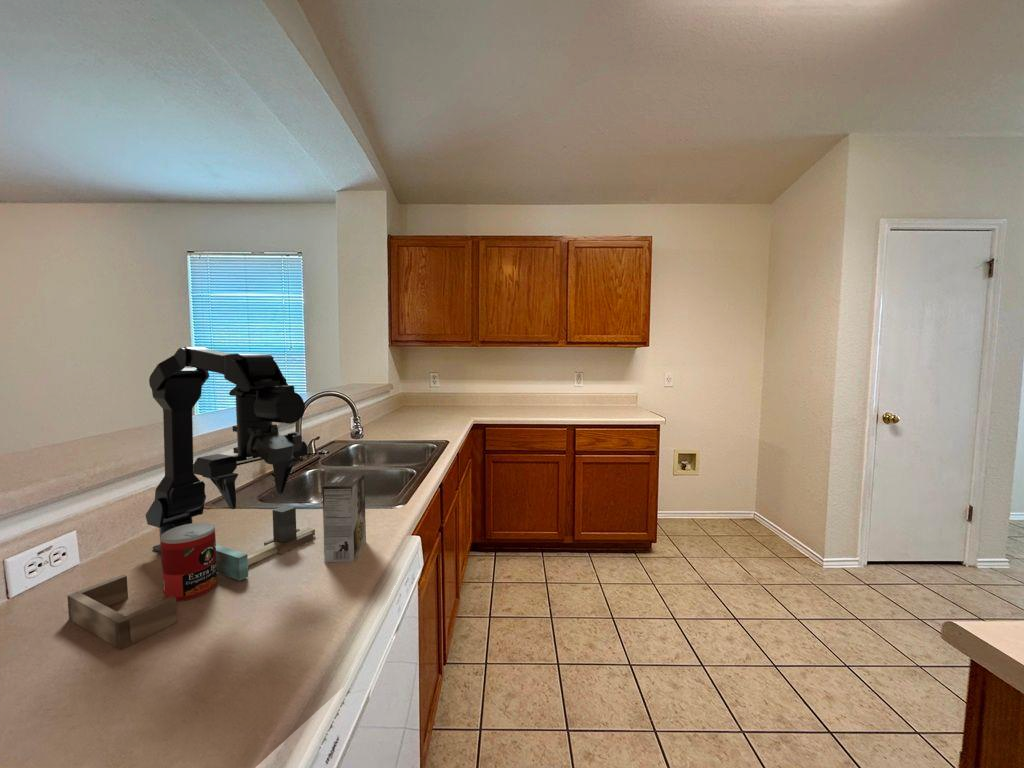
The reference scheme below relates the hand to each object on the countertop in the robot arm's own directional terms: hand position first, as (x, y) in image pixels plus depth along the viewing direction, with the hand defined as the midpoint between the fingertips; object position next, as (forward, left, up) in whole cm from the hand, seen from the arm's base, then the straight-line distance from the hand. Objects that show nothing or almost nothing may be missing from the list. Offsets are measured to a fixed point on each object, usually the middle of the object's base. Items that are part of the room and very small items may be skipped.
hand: (257, 500), depth 79 cm
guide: (-6, +11, -14) cm, 19 cm away
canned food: (-6, -9, -15) cm, 18 cm away
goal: (-6, -18, -14) cm, 24 cm away
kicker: (-6, +7, -14) cm, 17 cm away
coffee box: (+8, +14, -15) cm, 22 cm away
